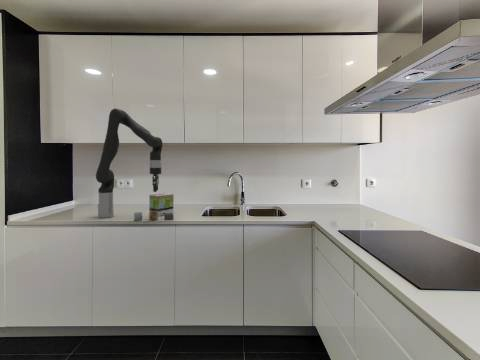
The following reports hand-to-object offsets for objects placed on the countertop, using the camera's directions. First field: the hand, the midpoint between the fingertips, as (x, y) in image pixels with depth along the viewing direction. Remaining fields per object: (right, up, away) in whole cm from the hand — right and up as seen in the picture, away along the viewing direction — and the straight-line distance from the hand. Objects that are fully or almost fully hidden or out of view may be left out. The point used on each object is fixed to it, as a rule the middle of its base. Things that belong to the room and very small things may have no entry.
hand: (155, 190), depth 202 cm
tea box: (-1, -18, +19) cm, 26 cm away
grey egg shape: (-11, -20, -2) cm, 22 cm away
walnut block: (-1, -19, -1) cm, 19 cm away
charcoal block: (+9, -19, +1) cm, 21 cm away
